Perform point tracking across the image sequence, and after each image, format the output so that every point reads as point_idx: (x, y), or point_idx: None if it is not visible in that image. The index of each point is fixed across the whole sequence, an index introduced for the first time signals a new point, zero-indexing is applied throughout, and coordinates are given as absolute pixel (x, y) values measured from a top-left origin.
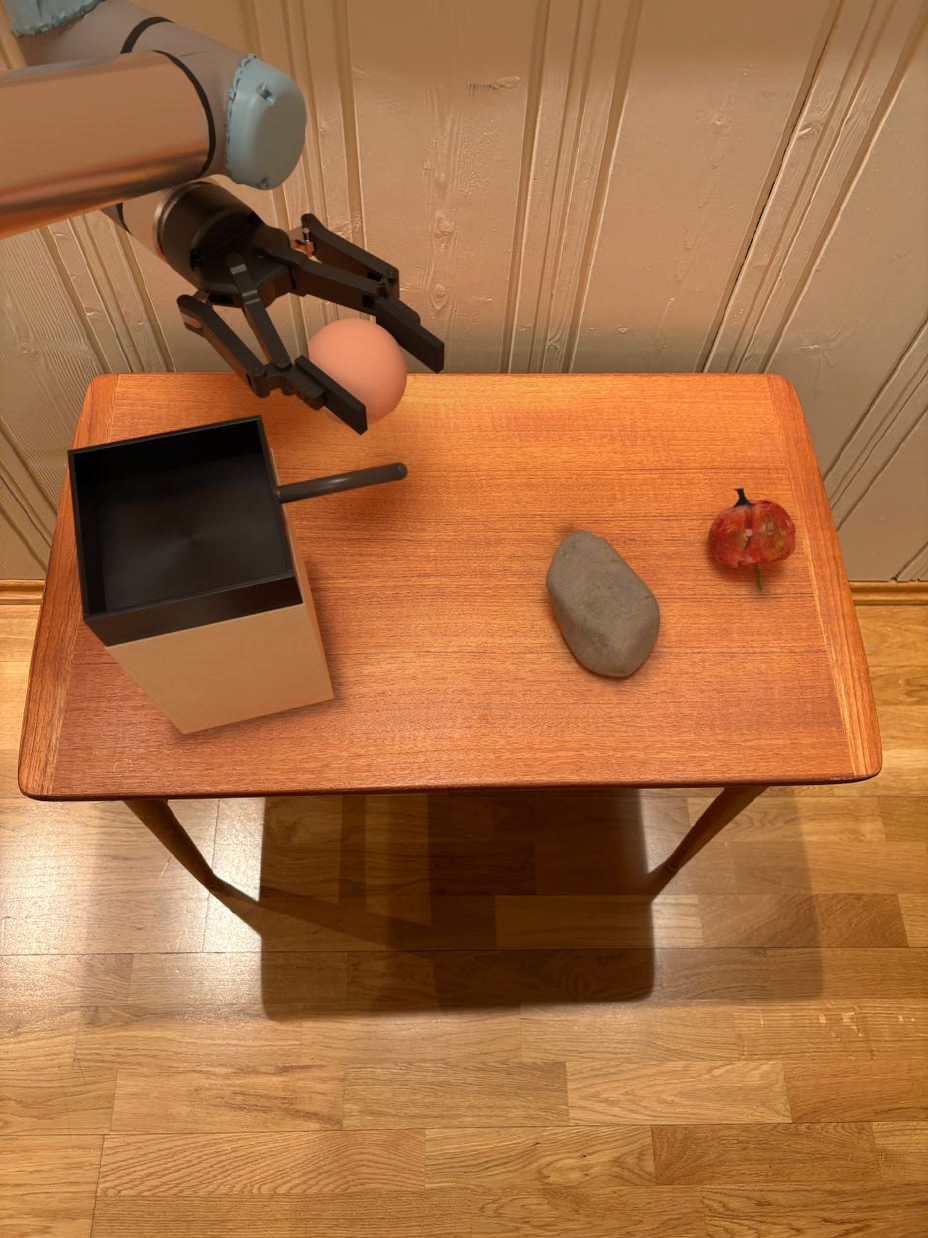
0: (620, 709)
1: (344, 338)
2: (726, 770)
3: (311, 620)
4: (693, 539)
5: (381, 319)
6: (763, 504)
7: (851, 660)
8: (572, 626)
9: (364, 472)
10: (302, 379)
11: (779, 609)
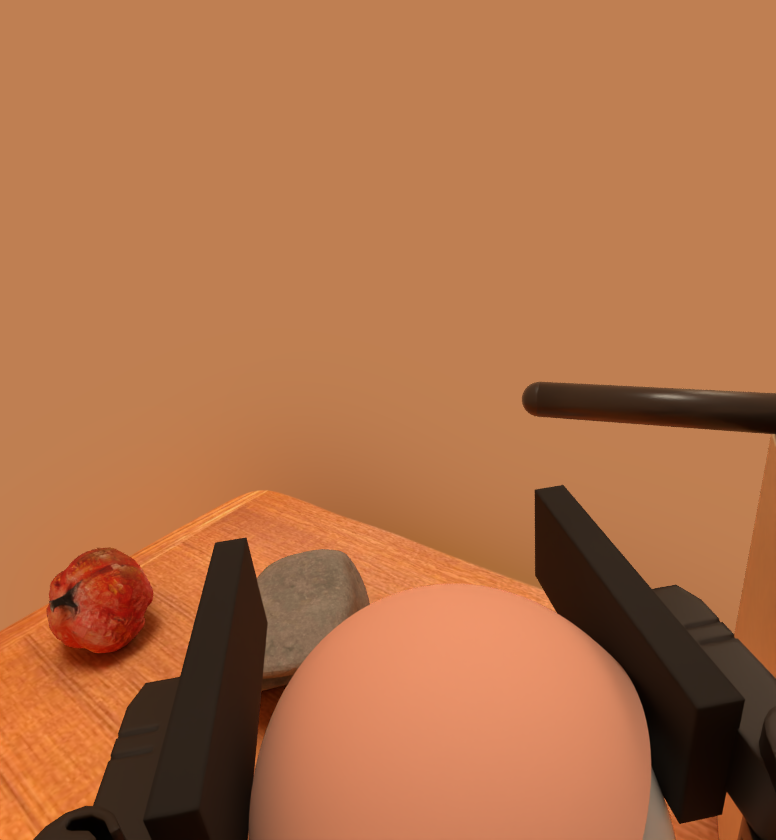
0: (372, 580)
1: (478, 645)
2: (341, 518)
3: (756, 540)
4: (121, 674)
5: (226, 825)
6: (63, 582)
7: (178, 530)
8: (356, 608)
9: (612, 386)
10: (713, 659)
11: (162, 579)
